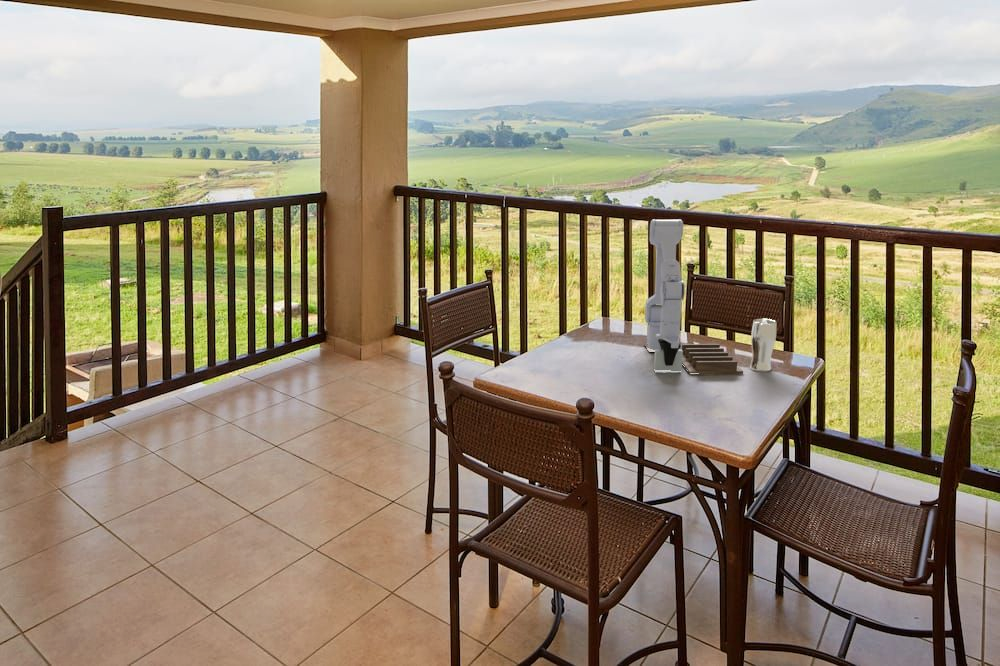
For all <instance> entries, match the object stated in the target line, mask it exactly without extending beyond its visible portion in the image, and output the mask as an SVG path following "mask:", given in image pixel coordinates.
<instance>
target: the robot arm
mask: <svg viewBox="0 0 1000 666" xmlns="http://www.w3.org/2000/svg"><path fill="white" fill-rule="evenodd" d="M683 234H684V221H683V220H682V219H655V218H654V219H652V220H651V221H650V223H649V242H650V243H649V244H650V245H653V246H654V247H655V252H656V255H655V277H654V278H655V279H654V294H653V295H652V296H650V297H648V298H647V299H646V301H645V308H644V320H645V323H646V324H648V326H647V332H646V343H647V344H648V348H650V349H653V350H655V349H663V352H664V361H665V365H666V366H672V365H673V363H674V360H675V356H676V354H677V352H678V350H679V349H681V348H682V344H680V342H679V341H680V339H681V335H680V333H681V319H682V318H681V315H682V303H683V302H682V301H684V298H685V292H686V290H685V287H686V286H685V283H684V279H683V277H682V272H681V262H680V261H678V260H677V245H678V244H679V242H680V241H681V240H682V238H683V236H684V235H683Z"/></svg>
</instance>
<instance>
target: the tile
mask: <svg viewBox="0 0 1000 666" xmlns="http://www.w3.org/2000/svg"><path fill="white" fill-rule="evenodd" d="M682 357H683V351H682V348H680V349H679V350H678V352H677V354H676V356H675V360H674V363H673V365H672V366H666V365H665V361H664V352H663V349H655V353H654V357H653V370H654V369H655V370H671V371H682V372H683V366H682Z"/></svg>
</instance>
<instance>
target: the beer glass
mask: <svg viewBox="0 0 1000 666" xmlns="http://www.w3.org/2000/svg"><path fill="white" fill-rule="evenodd" d="M777 323H778V322H777V321H776V320H774V319H773V320H772V319H770V318H769V319H768V318H756V319H753V323H752V328H751V335H750V337H751V338H750V341H751V342H750V343H751V353H752V355H751V361H750V365H749V368H750V370H752V371H756V372H763V373H767V372H770V371H771V370H772V364H771V358H772V354H773V351H774V348H775V345H776V344H775V343H776V338H777Z"/></svg>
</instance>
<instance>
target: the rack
mask: <svg viewBox="0 0 1000 666" xmlns="http://www.w3.org/2000/svg"><path fill="white" fill-rule="evenodd" d="M681 349H682V351H683V357H682V364H683V365H684V366H685V368H686V369H687V370H688V372H689V373H699V374H713V375H744V370H743V369H742V368H741V367H740V366H739V365H738V360H733V359H734V356H731V355H729V352H728V351H725V348H724V347H721V344H720V343H692V344H691V343H685V344H684V343H682V344H681ZM685 368H684V369H685ZM686 369H685V370H686ZM688 372H687V373H688ZM689 373H688V374H689Z"/></svg>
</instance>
